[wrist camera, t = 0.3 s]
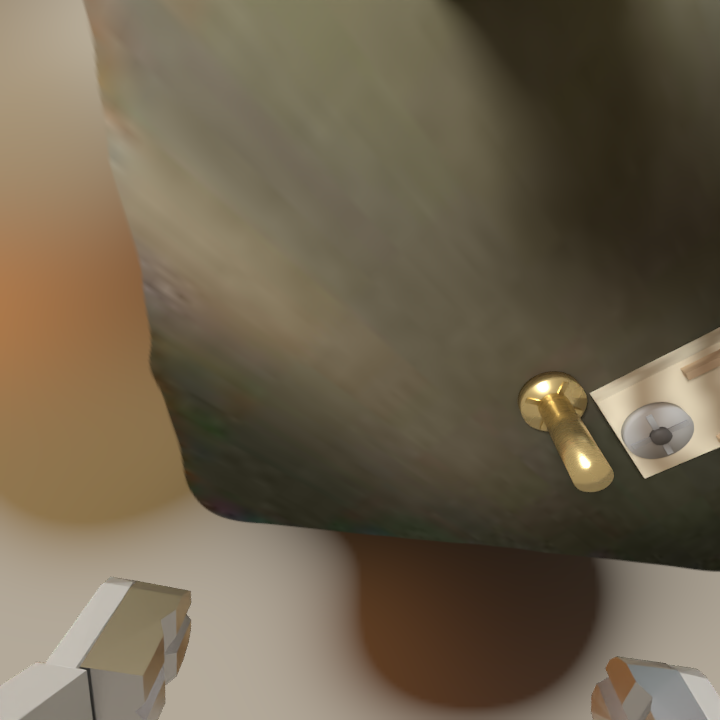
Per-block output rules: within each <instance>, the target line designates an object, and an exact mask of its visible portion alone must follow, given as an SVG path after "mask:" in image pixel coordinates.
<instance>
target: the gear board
mask: <svg viewBox="0 0 720 720" xmlns="http://www.w3.org/2000/svg"><path fill="white" fill-rule="evenodd" d="M590 395H591V396H592V398H593V399H594V401H595V403H596V404H597V406H598V407H599V409H600V410H601V412H602V413H603V415H604V417H605V418H606V420H607V421H608V423H609V424H610V426H611V428H612V429H613V431H614V432H615V434H616V435H617V437H618V439H619V440H620V442H621V443H622V445H623V446H624V448H625V450H626V451H627V453H628V454H629V456H630V457H631V459H632V460H633V462H634V464H635V465H636V467H637V468H638V470H639V471H640V473H641V474H642V475H643V477H644V478H647V477H650V476H652V475H654V474H657V473H659V472H662V471H664V470H666V469H669V468H671V467H673V466H676V465H678V464H681V463H683V462H685V461H688V460H690V459H692V458H695V457H697V456H700V455H702V454H704V453H707V452H709V451H712V450H714V449H716V448H719V447H720V327H719V328H717V329H715V330H713V331H711V332H709V333H707V334H705V335H703V336H702V337H700V338H698V339H696V340H694V341H692V342H690V343H688V344H686V345H684V346H682V347H680V348H678V349H676V350H674V351H672V352H670V353H668V354H666V355H664V356H662V357H660V358H658V359H656V360H654V361H652V362H650V363H648V364H646V365H644V366H642V367H640V368H638V369H636V370H634V371H632V372H631V373H629V374H627V375H625V376H623V377H621V378H619V379H617V380H615V381H613V382H611V383H609V384H607V385H605V386H603V387H601V388H599V389H597V390H595V391H593V392H591V393H590Z"/></svg>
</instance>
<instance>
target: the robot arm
mask: <svg viewBox="0 0 720 720" xmlns="http://www.w3.org/2000/svg"><path fill="white" fill-rule="evenodd" d="M190 605H191V591H188V590H183V589H177V588H172V587H167V586H161V585H156V584H151V583H145V582H140V581H134V580H128V579H122V578H116V577H110V578H108V579H107V580H106V581H105V582H104V583H102V584H101V586H100V587H99V588H98V590H97V591H96V593H95V594H94V595H93V597H92V598H91V600H90V601H89V602H88V604H87V605H86V607H85V608H84V609H83V611H82V612H81V614H80V615H79V616H78V618H77V619H76V621H75V622H74V623H73V625H72V626H71V627H70V629H69V630H68V632H67V633H66V635H65V636H64V637H63V639H62V640H61V642H60V643H59V644H58V646H57V647H56V648H55V650H54V651H53V653H52V654H51V656H50V657H49V658H48V660H47V661H46V662H45V663H41V662H35V663H34V664H32V665H31V666H29V667H28V668H26V669H25V670H23V671H21V672H20V673H18V674H17V675H15V676H14V677H12V678H11V679H9V680H8V681H6V682H4V683H3V684H1V685H0V720H158V719H159V716H160V714H161V712H162V709H163V707H164V705H165V685H167V684H168V683H169V682H170V681H171V680H173V679H174V678H175V677H176V676H177V674H178V672H179V669H180V667H181V664H182V662H183V659H184V656H185V653H186V649H187V646H188V643H189V638H190V631H191V619H190V618H189V617H188V616H187V611H188V609H189V607H190ZM605 669H606V671H607V674H608V676H609V677H608V678H606V679H604V680H602V681H601V682H598V683H597V684H596V686H595V688H594V691H593V693H592V695H591V713H592V718H593V720H720V697H719V695H718V694H717V692H716V691H715V689H714V688H713V686H712V685H711V683H710V682H709V680H708V679H707V677H706V676H705V675H704V674H703V673H701V672H700V671H699V670H698V669H694V668H689V667H682V666H675V665H668V664H666V663H660V662H653V661H646V660H638V659H632V658H624V657H614V658H612V659H610V660H609V662H608V664H607V666H606V668H605Z"/></svg>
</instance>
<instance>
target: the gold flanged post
mask: <svg viewBox="0 0 720 720" xmlns="http://www.w3.org/2000/svg"><path fill="white" fill-rule="evenodd" d="M518 406H519V409H520V411H521V414H522V416H523V418H524V420H525V421H526V422H527V423H528V424H529V425H530V426H531V427H533V428H535V429H538V430H541V431H548V432H549V434H550V436H551V438H552V440H553V442H554V444H555V446H556V448H557V450H558V452H559V454H560V456H561V458H562V460H563V463H564V465H565V467H566V469H567V471H568V473H569V475H570V477H571V479H572V481H573V483H574V485H575V486H576V487H577V488H578V489H579V490H581V491H585V492H596V491H600V490H602V489H604V488H606V487H607V486H609V485H610V483H611V482H612V480H613V478H614V472H613V470H612V469H611V467H610V465H609V464H608V462H607V460H606V459H605V457H604V456H603V454H602V452H601V451H600V449H599V448H598V446H597V444H596V443H595V441H594V439H593V438H592V436H591V435H590V433H589V431H588V430H587V428H586V427H585V425H584V423H583V422H582V420H581V418H580V417H581V416H582V415H583V413H584V411H585V409H586V406H587V397H586V394H585V392H584V390H583V388H582V387H581V386H580V384H579V383H578V381H577V380H576V379H575V378H574V377H572V376H571V375H569V374H566V373H563V372H556V371H553V372H545V373H542V374H539V375H537V376H535V377H533V378H531V379H530V380H529V381H527V382H526V383H525V385H524V386H523V387H522V389H521V390H520V393H519V396H518Z"/></svg>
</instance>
